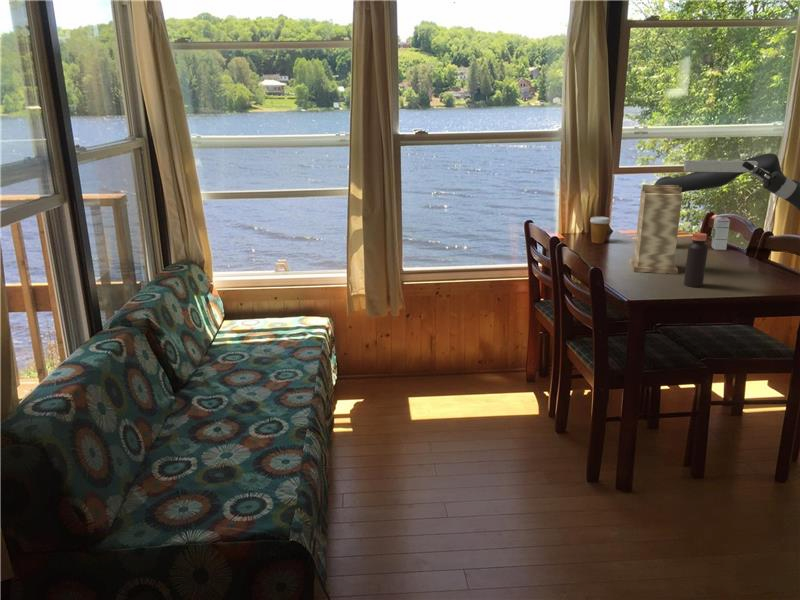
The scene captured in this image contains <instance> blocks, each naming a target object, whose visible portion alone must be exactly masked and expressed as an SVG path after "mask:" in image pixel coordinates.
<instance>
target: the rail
mask: <svg viewBox="0 0 800 600" xmlns="http://www.w3.org/2000/svg"><path fill="white" fill-rule="evenodd" d="M744 162H745V161H742V160H712V159H710V160H703V159H701V160H700V159H698V160H697V159H694V160H693V159H692V160H691V159H689V160H688V159H685V160H684V162H683V163H684V164H683V171H684V172H691V173H693V172H747V173H751V171H750V170H748V169H746V168H745V167H743V166H742V165H743V164H744ZM747 162H749V163H750V164H752V165H754V166H757V164H758V162H756V161H747Z"/></svg>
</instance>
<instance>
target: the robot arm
mask: <svg viewBox="0 0 800 600" xmlns="http://www.w3.org/2000/svg"><path fill="white" fill-rule="evenodd" d="M779 160H780V159H779V156H778V155H777V154H775V153H763V154H759V155H755V156H753V157H748V158H746V159H742V160H741V161H745V162H744V164H743V165H742V166H743V167H745V168H746V169H748V170H750V171H751V172H750V174H751V175H752V176H754V177H755V178H757V180H759V181H762V182H763V185H762V187H763V189H764V190H767V191H768V192H770V193H771V194H773V195H775V196H777V197H778V198H781V199H783V200H785V201H786V202H788V203H789V204H791V205H792V206H793V207H795V208H796V209H797V210H798V211H799V212H800V181H798V180H795V179H790V178H789V177H788V176H786V175H785V174H784V173H783V171H782V168H781V164H780V161H779ZM747 161H756V162H758V164H757V166H754V165H752V164H750V163H749V162H747ZM743 174H748V172H691V173H688V174H685V175H681V176H680V175H679V176H669V175H666V176H663V177H661V178H659V179H657V180H656V181H655V182H654V184H653V185H679V187H682V192H681V194H682V193H686V192H692V191H701V190H703V191H704V190H708V189H714V188H719V187H724V186H726V185H728V184H729V183H731V182H733V181H734V180H736V178H738V177H739V176H741V175H743Z"/></svg>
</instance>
